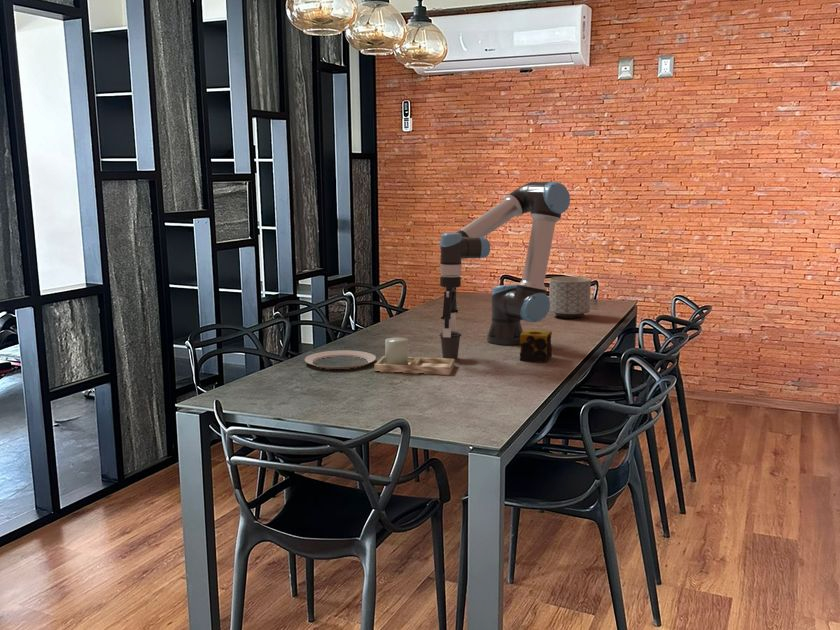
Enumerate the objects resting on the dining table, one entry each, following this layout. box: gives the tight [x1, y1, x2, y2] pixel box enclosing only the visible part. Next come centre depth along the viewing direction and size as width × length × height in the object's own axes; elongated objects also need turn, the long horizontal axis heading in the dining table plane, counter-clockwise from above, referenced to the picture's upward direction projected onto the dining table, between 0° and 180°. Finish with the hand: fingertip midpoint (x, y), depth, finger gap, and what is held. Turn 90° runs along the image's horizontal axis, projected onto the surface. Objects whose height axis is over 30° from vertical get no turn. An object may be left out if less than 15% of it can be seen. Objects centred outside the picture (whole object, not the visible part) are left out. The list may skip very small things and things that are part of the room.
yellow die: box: [519, 329, 553, 363], centre depth 284 cm, size 10×10×10 cm
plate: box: [304, 349, 377, 370], centre depth 280 cm, size 26×26×2 cm
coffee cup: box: [438, 330, 462, 361], centre depth 285 cm, size 8×8×10 cm
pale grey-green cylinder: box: [384, 337, 409, 365], centre depth 271 cm, size 8×8×9 cm
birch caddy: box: [373, 355, 456, 376], centre depth 271 cm, size 26×13×2 cm, turn 80°
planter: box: [548, 276, 592, 319], centre depth 369 cm, size 19×19×18 cm
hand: (449, 333), depth 284 cm, fingers open, 13 cm apart
